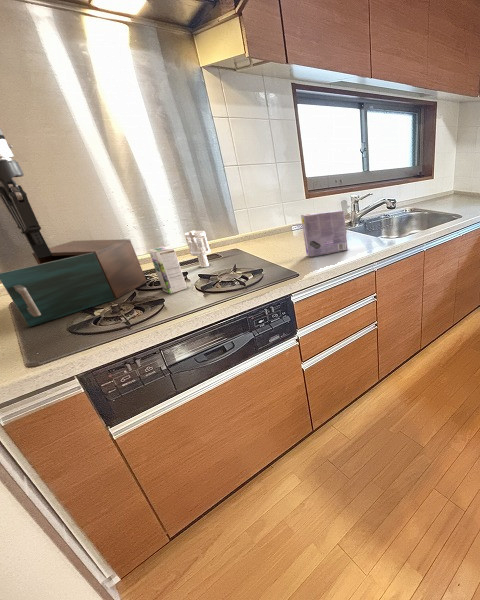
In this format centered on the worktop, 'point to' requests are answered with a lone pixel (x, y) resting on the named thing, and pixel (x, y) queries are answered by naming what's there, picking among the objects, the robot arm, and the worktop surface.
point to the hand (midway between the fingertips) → (44, 256)
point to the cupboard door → (57, 288)
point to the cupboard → (105, 261)
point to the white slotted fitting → (198, 246)
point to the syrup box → (168, 269)
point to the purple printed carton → (324, 233)
